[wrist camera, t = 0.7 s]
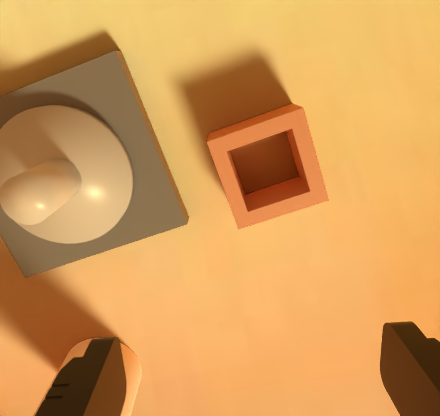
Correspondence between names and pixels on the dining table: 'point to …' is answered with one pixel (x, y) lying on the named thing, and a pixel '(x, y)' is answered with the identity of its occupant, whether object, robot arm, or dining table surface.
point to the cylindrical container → (131, 372)
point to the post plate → (81, 167)
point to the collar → (280, 193)
